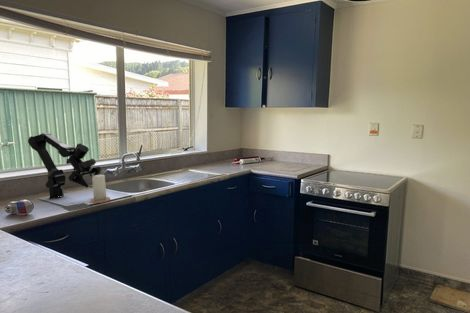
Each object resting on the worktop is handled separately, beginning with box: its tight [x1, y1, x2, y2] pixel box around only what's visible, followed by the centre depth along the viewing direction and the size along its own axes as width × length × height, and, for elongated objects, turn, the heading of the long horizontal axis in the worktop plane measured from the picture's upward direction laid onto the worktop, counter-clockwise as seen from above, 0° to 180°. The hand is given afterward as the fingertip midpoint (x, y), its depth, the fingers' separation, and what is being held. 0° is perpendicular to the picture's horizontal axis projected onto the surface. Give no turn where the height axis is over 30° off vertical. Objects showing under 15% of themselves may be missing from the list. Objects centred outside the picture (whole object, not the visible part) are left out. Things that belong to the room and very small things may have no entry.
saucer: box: [90, 196, 111, 204], centre depth 185 cm, size 10×10×1 cm
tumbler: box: [91, 174, 107, 201], centre depth 184 cm, size 6×6×13 cm
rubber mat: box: [61, 202, 92, 212], centre depth 173 cm, size 11×11×1 cm
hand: (94, 185), depth 185 cm, fingers open, 9 cm apart
